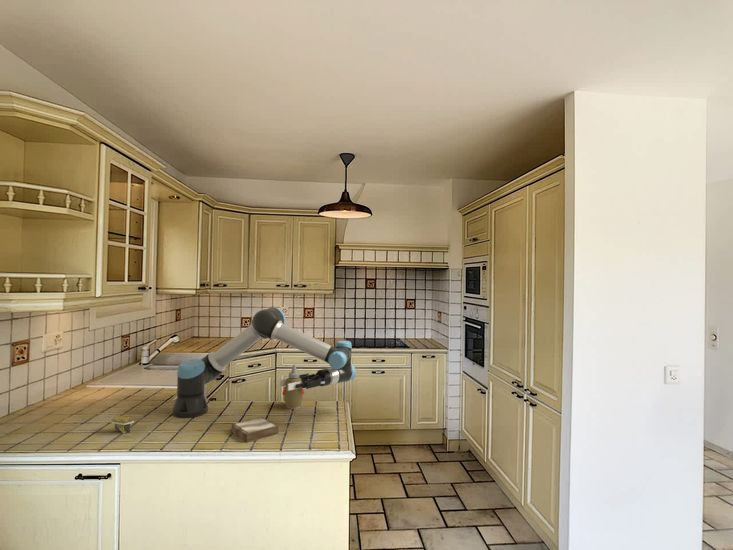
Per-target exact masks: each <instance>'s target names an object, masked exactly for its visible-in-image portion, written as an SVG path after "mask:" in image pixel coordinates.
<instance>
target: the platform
mask: <svg viewBox="0 0 733 550" xmlns="http://www.w3.org/2000/svg"><path fill="white" fill-rule="evenodd" d="M129 418H130V417H129V416H124V415H117V417H116V416H114V417H113V418H112V419H111V420H110V423H112V424H114V430H115V431H118V432H121V433H122V434H125V433H129V434H130V433H131V424H133V423H135V422H134V421H135V420H132V419H129Z"/></svg>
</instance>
